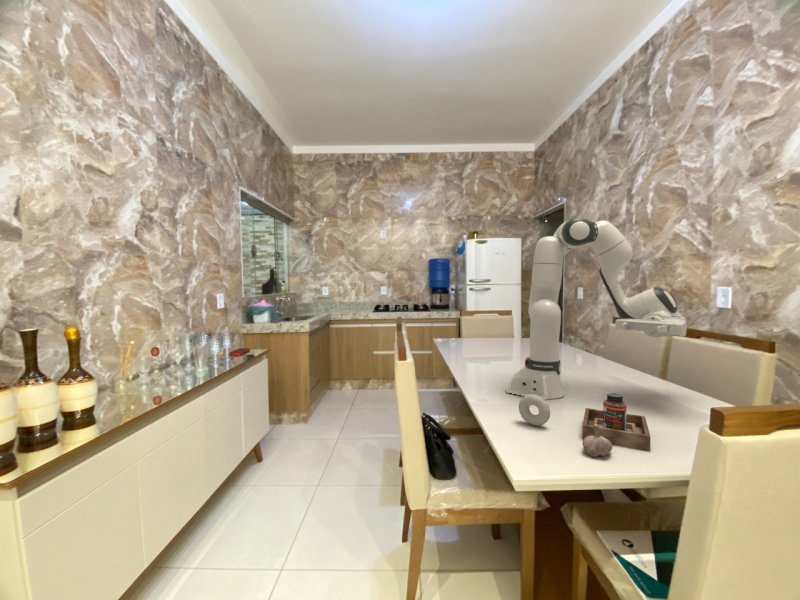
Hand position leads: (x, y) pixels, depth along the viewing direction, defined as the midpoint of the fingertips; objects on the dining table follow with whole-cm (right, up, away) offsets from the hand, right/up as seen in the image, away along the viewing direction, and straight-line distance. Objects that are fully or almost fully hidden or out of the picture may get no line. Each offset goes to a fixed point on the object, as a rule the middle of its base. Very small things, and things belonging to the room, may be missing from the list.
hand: (639, 328), depth 117 cm
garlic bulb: (-28, -32, -25) cm, 49 cm away
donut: (-38, -31, -6) cm, 49 cm away
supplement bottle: (-17, -30, -14) cm, 37 cm away
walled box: (-17, -30, -14) cm, 37 cm away
